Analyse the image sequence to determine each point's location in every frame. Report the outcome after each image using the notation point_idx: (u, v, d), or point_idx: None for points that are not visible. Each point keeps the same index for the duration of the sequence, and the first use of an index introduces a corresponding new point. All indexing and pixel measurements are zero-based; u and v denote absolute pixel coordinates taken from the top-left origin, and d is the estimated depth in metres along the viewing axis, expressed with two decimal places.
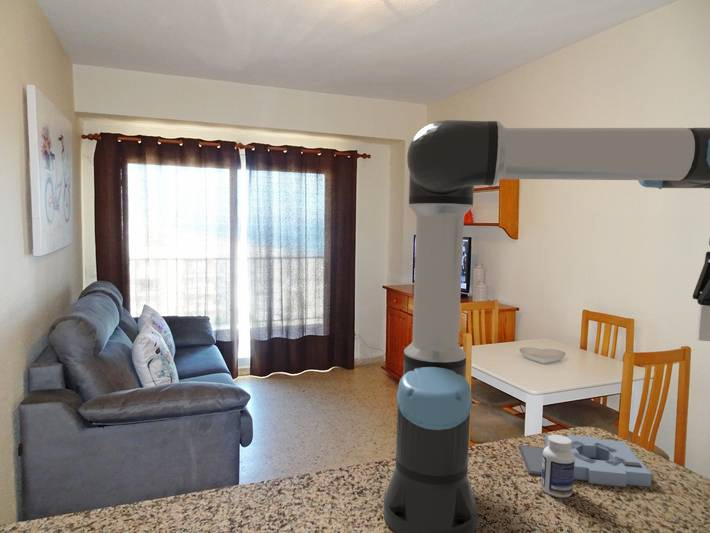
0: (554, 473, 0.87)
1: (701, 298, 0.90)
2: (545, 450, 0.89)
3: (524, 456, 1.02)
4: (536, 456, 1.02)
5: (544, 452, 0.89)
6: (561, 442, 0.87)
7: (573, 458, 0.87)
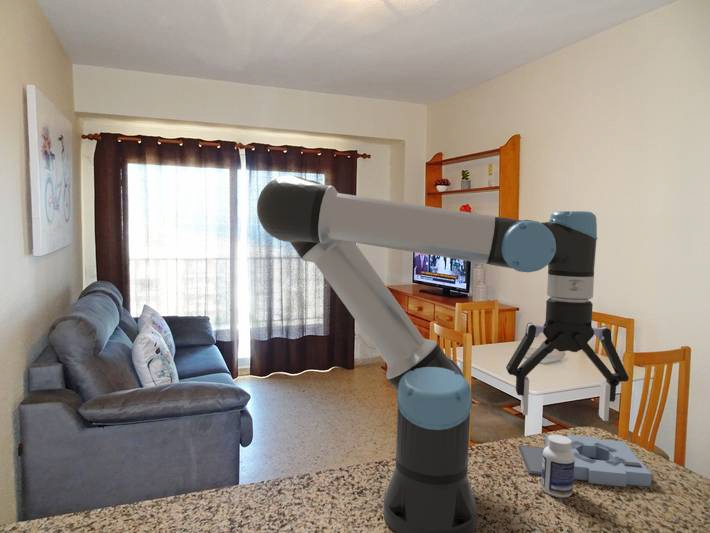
0: (554, 473, 0.87)
1: None
2: (545, 450, 0.89)
3: (524, 456, 1.02)
4: (536, 456, 1.02)
5: (544, 452, 0.89)
6: (561, 442, 0.87)
7: (573, 458, 0.87)
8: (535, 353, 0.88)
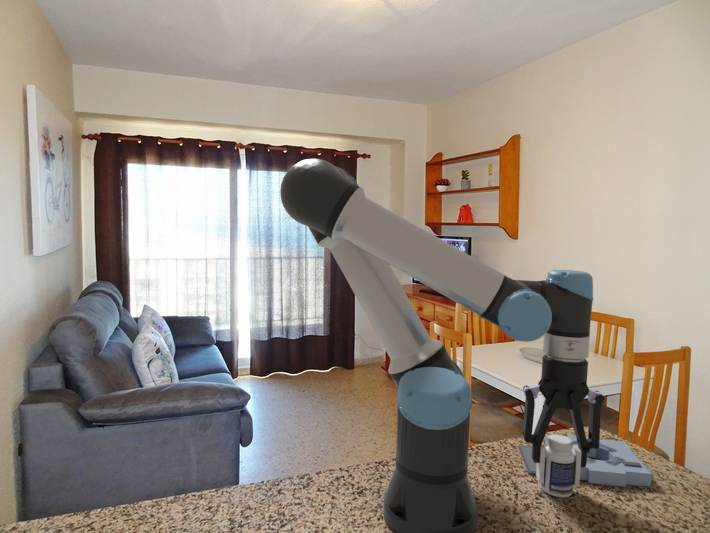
0: (554, 473, 0.87)
1: None
2: (545, 450, 0.89)
3: (524, 456, 1.02)
4: None
5: None
6: (561, 442, 0.87)
7: (573, 458, 0.87)
8: (541, 417, 0.89)
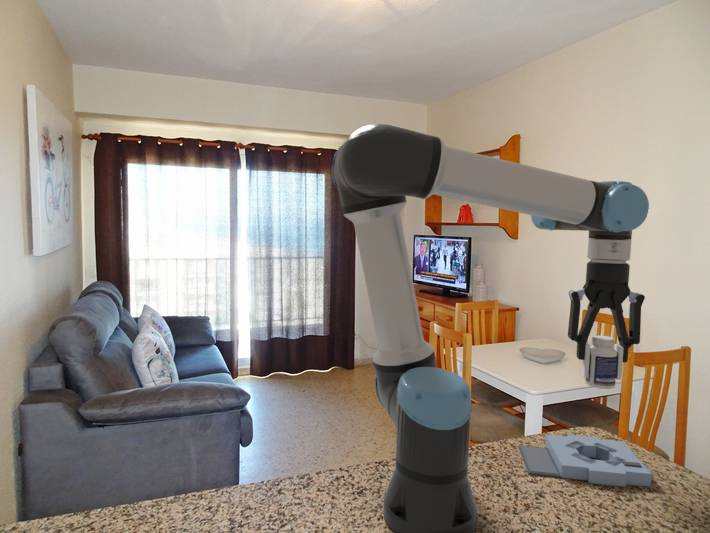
0: (598, 367, 0.96)
1: None
2: None
3: (524, 456, 1.02)
4: (536, 456, 1.02)
5: None
6: (604, 339, 0.96)
7: (616, 353, 0.96)
8: (586, 318, 0.98)
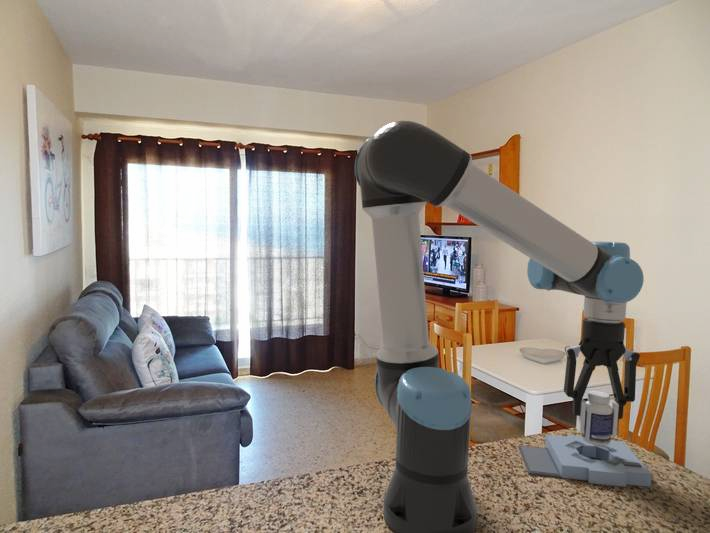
0: (594, 424, 0.97)
1: None
2: None
3: (524, 456, 1.02)
4: (536, 456, 1.02)
5: None
6: (600, 396, 0.97)
7: (611, 410, 0.97)
8: (582, 374, 0.99)
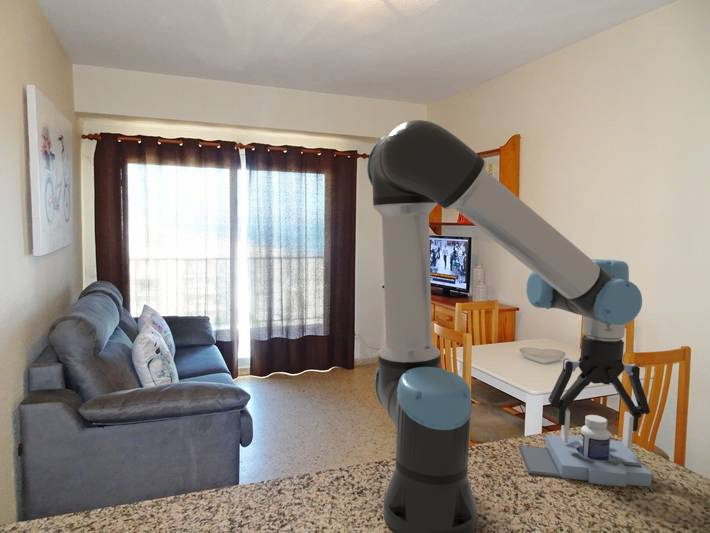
0: (592, 449, 0.97)
1: None
2: (583, 428, 0.99)
3: (524, 456, 1.02)
4: (536, 456, 1.02)
5: (582, 430, 0.99)
6: (598, 421, 0.98)
7: (609, 435, 0.97)
8: (573, 386, 0.99)
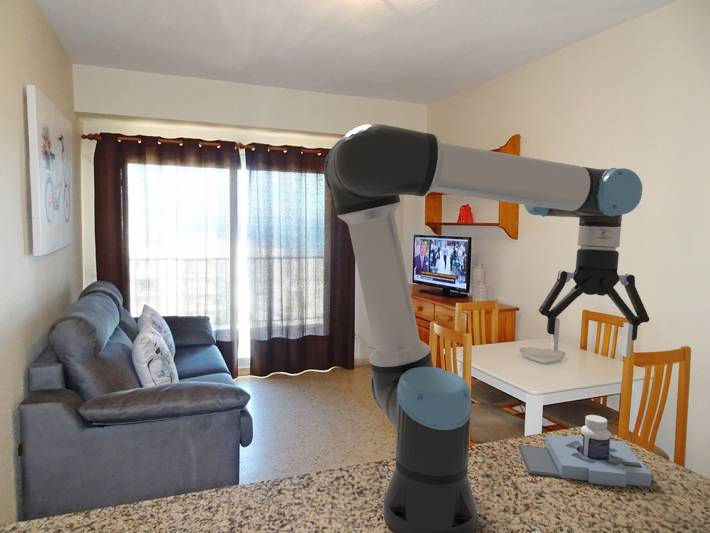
0: (592, 449, 0.97)
1: None
2: (583, 428, 0.99)
3: (524, 456, 1.02)
4: (536, 456, 1.02)
5: (582, 430, 0.99)
6: (598, 421, 0.98)
7: (609, 435, 0.97)
8: (565, 297, 0.99)
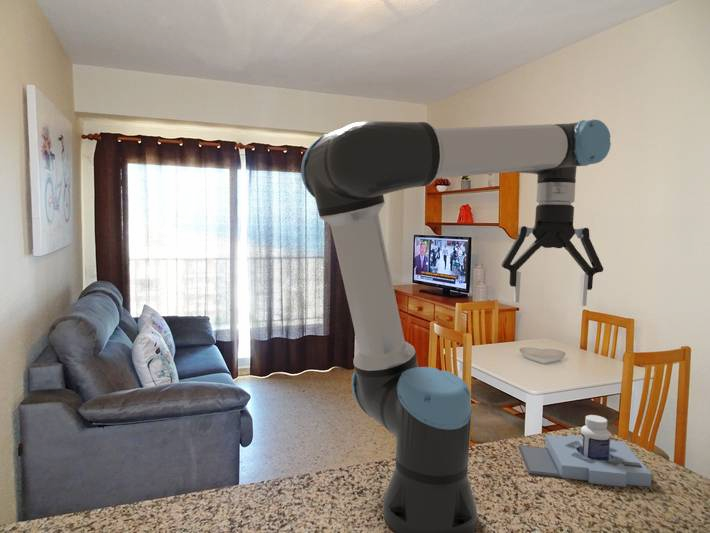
0: (592, 449, 0.97)
1: None
2: (583, 428, 0.99)
3: (524, 456, 1.02)
4: (536, 456, 1.02)
5: (582, 430, 0.99)
6: (598, 421, 0.98)
7: (609, 435, 0.97)
8: (526, 251, 1.05)
